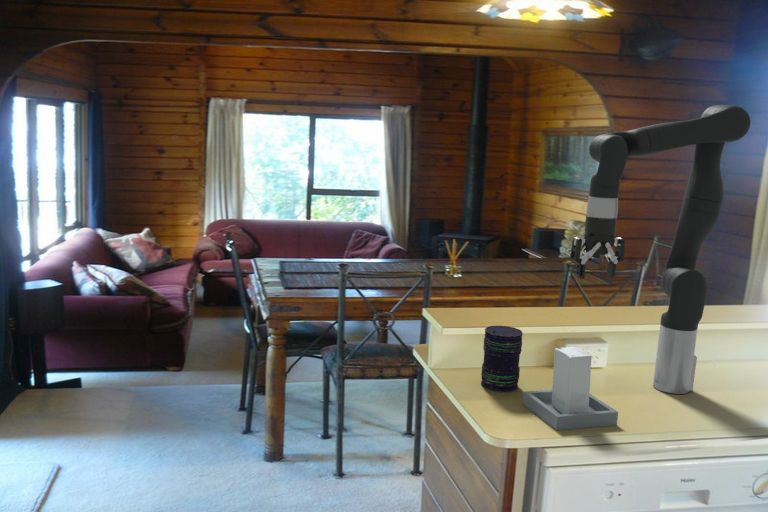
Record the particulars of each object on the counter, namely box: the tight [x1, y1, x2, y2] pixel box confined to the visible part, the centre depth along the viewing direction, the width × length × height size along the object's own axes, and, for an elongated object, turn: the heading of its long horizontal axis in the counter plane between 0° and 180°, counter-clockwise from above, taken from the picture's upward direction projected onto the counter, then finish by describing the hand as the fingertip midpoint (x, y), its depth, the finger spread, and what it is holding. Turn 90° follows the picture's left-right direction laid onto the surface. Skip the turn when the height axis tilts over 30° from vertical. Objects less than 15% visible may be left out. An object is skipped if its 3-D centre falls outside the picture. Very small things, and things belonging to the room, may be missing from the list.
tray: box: [522, 389, 619, 431], centre depth 177 cm, size 16×16×3 cm
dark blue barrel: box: [480, 325, 524, 393], centre depth 194 cm, size 10×10×15 cm
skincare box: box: [551, 346, 592, 414], centre depth 176 cm, size 8×6×15 cm
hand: (595, 278), depth 189 cm, fingers open, 8 cm apart
